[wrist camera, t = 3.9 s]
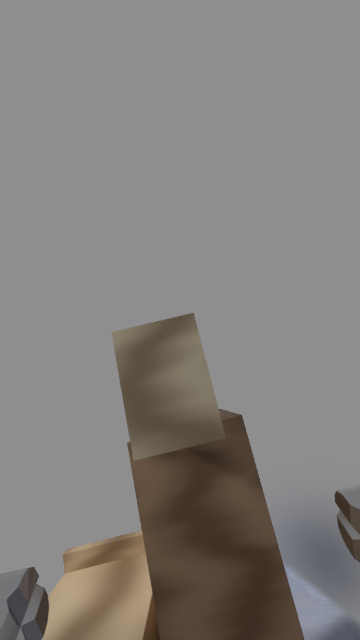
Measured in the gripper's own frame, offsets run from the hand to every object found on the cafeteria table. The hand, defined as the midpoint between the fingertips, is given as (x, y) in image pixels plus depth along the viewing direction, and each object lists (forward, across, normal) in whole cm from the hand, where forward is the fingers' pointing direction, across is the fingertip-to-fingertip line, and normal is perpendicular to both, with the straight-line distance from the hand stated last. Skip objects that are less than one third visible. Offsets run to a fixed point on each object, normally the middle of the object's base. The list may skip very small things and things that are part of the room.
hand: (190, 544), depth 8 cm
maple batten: (+12, 0, +5) cm, 13 cm away
